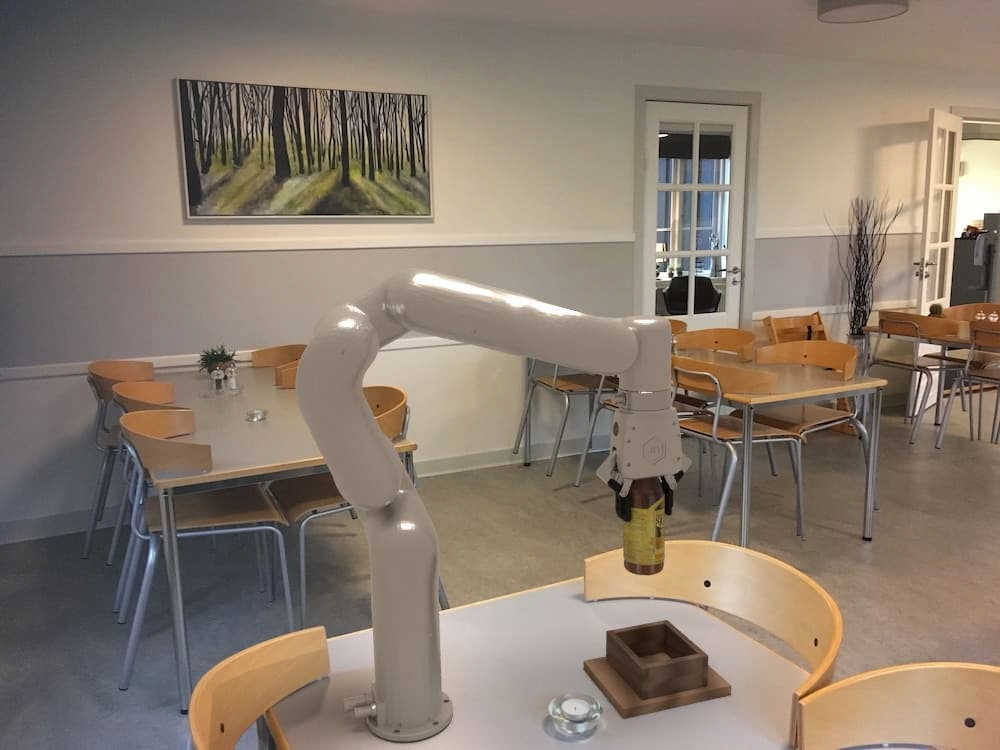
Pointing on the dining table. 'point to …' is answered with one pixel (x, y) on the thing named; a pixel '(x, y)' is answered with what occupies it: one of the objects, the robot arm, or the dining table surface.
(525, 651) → the dining table surface
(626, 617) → the dining table surface
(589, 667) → the condiment caddy
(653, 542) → the sauce bottle
